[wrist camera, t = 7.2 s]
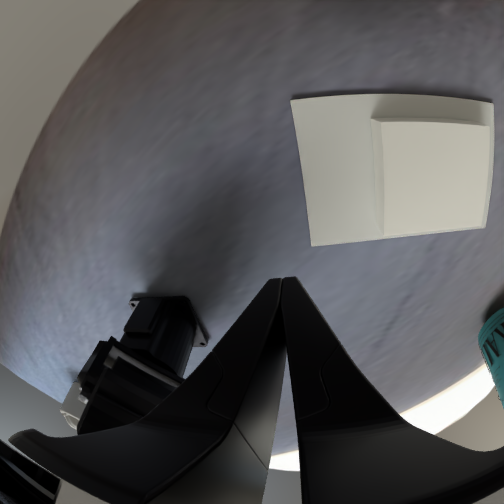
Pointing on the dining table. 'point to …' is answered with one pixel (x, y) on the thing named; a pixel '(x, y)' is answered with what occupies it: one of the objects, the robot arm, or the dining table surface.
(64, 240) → the dining table surface
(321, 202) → the felt mat
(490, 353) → the beverage bottle
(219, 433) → the robot arm
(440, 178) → the rectangular block
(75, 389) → the white bumpy block
